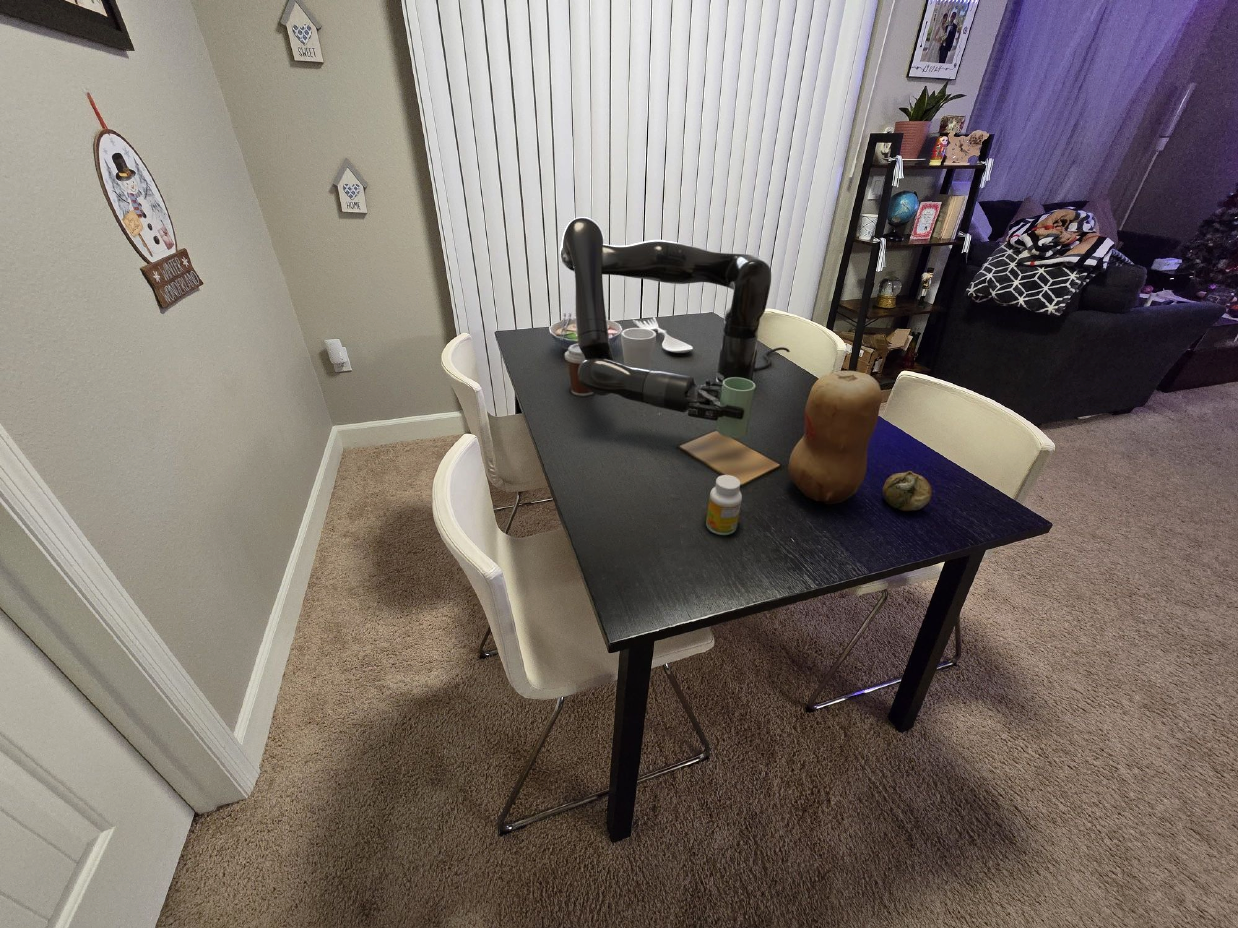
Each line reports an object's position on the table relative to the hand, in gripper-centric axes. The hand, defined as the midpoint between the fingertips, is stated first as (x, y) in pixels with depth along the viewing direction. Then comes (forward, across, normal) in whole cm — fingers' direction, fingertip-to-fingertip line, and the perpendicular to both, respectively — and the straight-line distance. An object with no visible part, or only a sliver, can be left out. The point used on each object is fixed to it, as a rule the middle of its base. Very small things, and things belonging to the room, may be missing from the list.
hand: (747, 406), depth 100 cm
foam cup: (-35, +31, +13) cm, 49 cm away
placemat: (-2, 0, +13) cm, 13 cm away
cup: (-2, 0, +6) cm, 6 cm away
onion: (+32, -3, +12) cm, 34 cm away
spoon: (-39, +63, +13) cm, 75 cm away
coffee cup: (-45, +17, +13) cm, 50 cm away
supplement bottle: (+2, -23, +13) cm, 26 cm away
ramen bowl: (-58, +44, +13) cm, 74 cm away
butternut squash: (+17, -6, +13) cm, 22 cm away
